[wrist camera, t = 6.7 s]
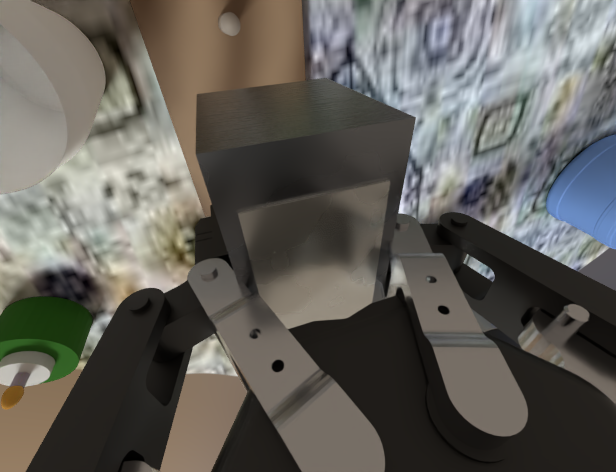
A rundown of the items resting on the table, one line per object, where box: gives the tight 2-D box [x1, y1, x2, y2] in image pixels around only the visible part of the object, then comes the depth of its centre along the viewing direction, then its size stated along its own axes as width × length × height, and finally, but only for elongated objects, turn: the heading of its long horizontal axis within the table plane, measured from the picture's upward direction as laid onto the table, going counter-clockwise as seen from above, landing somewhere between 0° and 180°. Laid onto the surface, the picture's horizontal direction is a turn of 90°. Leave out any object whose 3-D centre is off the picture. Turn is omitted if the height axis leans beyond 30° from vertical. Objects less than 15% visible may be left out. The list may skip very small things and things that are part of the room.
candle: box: [0, 297, 93, 409], centre depth 29 cm, size 8×8×10 cm
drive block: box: [196, 78, 416, 329], centre depth 11 cm, size 5×10×6 cm, turn 3°
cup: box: [0, 0, 106, 194], centre depth 15 cm, size 9×9×12 cm
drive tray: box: [130, 0, 306, 217], centre depth 24 cm, size 12×19×5 cm, turn 3°
